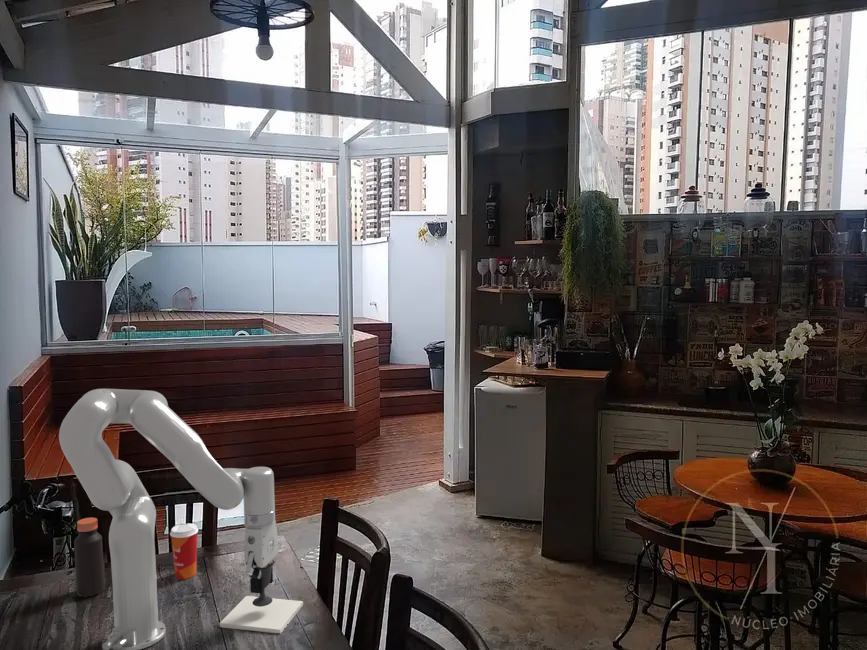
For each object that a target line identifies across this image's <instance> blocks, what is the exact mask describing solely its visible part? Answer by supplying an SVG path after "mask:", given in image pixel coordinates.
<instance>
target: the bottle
mask: <svg viewBox="0 0 867 650" xmlns="http://www.w3.org/2000/svg"><path fill="white" fill-rule="evenodd" d="M98 523H99V522H98V518H97V517H85V518H82V519H79V520H77V521H76V527H77V528H76V529H77V533H78V535H77V537H75V539H74V541H73V544H74V545H73V546H74V547H73V549H74V563H75V564H74V566H75V582H76V583H75V585H76V586H75V587H76V594H77V593H78V594H79V595H82V596H91V597H93V596H92V595H95V594H98V593H99V594H101V593H103V592H104V591H105V573H104V552H103V551H104V550H103V549H104V548H103V536H102V535H101V534H100V533H99V532H98V531H97V530H98V529H99V528H98V527H99V526H98ZM100 592H101V593H100ZM99 594H98V595H99ZM95 596H96V595H95Z"/></svg>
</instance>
